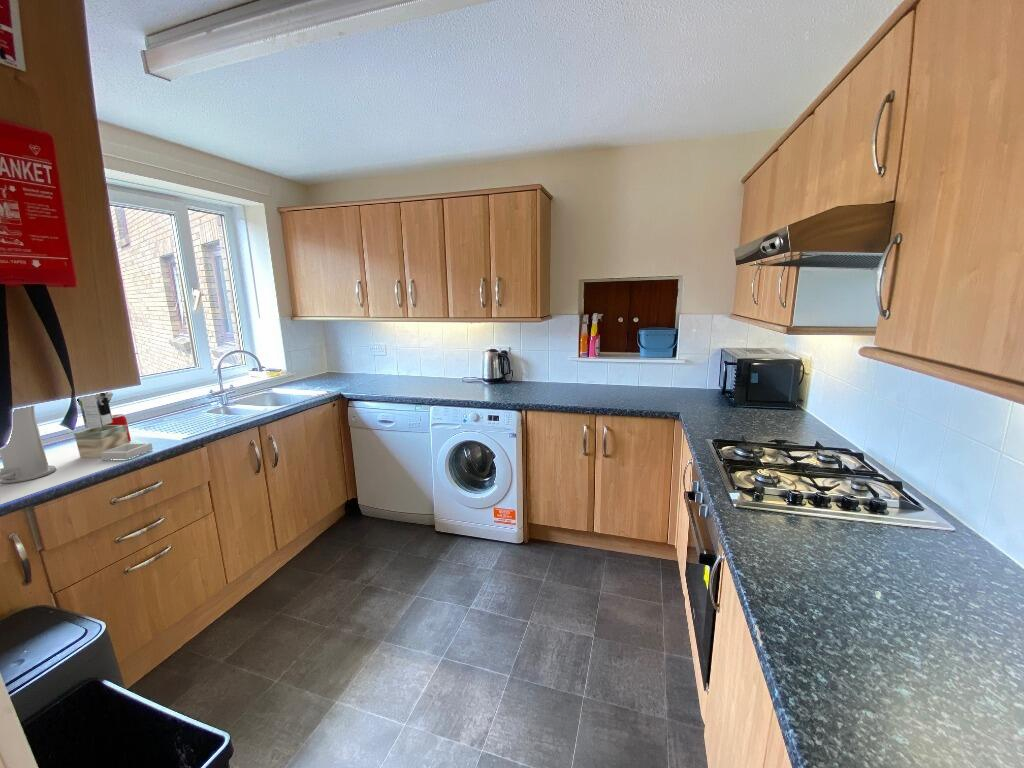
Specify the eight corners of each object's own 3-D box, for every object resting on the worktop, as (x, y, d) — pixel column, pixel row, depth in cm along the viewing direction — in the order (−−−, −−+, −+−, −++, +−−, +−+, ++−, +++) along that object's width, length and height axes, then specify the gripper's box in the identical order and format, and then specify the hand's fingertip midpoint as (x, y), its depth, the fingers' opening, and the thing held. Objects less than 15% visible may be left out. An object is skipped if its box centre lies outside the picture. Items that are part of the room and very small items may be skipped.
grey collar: (128, 460, 154) (126, 452, 153) (102, 460, 155) (100, 452, 154) (153, 450, 164) (151, 443, 163) (128, 450, 165) (127, 443, 164)
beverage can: (107, 447, 170) (100, 418, 168) (116, 442, 176) (110, 414, 174) (125, 445, 172) (119, 417, 169) (134, 440, 178) (128, 413, 175)
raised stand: (104, 457, 159) (98, 432, 157) (80, 457, 159) (74, 433, 157) (130, 447, 168) (124, 424, 166) (106, 448, 169) (101, 425, 167)
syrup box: (97, 424, 164) (88, 387, 161) (114, 422, 165) (105, 386, 162) (85, 428, 159) (75, 390, 156) (102, 427, 159) (93, 389, 157)
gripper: (117, 366, 160) (127, 411, 164) (75, 367, 162) (86, 412, 165) (96, 369, 153) (108, 417, 157) (52, 370, 154) (65, 417, 158)
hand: (97, 414), depth 161 cm, fingers closed on syrup box, 6 cm apart
